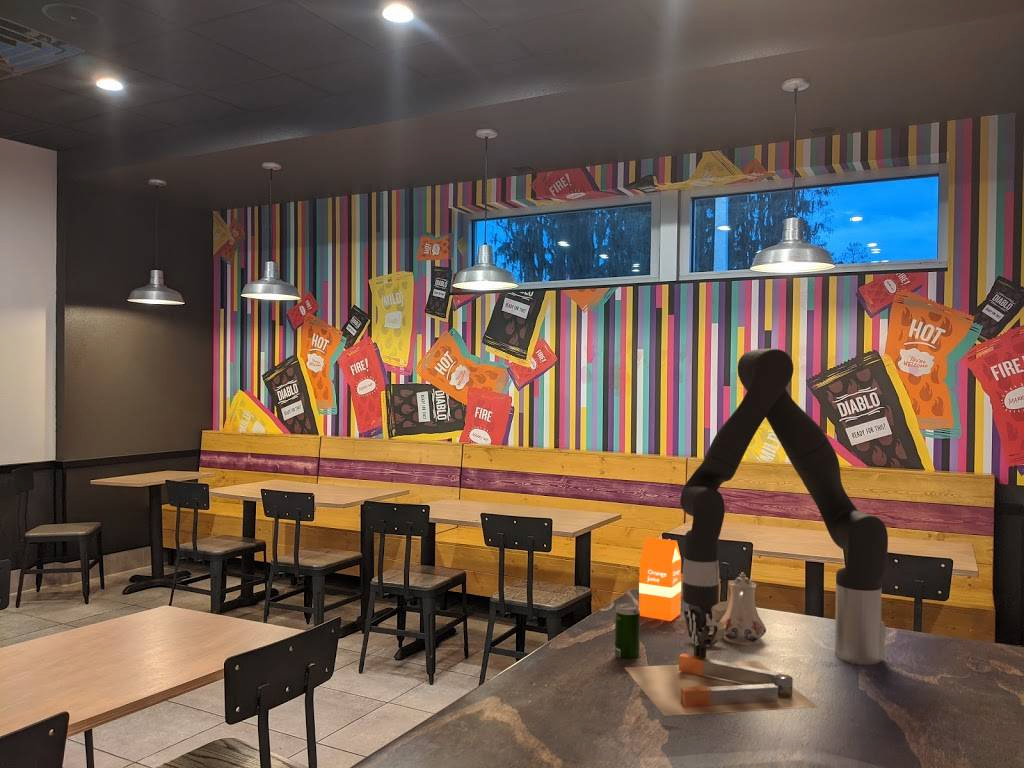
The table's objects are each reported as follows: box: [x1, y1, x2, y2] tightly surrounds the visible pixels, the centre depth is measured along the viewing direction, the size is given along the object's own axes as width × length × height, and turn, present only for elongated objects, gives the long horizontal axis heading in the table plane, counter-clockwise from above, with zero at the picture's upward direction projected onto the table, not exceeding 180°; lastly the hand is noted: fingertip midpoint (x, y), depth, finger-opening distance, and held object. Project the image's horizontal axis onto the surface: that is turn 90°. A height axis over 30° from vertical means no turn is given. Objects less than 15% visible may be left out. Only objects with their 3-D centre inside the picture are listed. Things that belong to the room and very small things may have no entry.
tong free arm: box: [678, 653, 794, 697], centre depth 158 cm, size 23×4×3 cm, turn 59°
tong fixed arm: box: [681, 684, 778, 708], centre depth 149 cm, size 18×2×3 cm, turn 99°
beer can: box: [614, 603, 641, 660], centre depth 175 cm, size 5×5×12 cm
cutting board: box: [623, 660, 819, 717], centre depth 158 cm, size 30×24×2 cm
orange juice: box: [638, 536, 682, 622], centre depth 209 cm, size 8×9×20 cm
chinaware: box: [706, 571, 767, 648], centre depth 192 cm, size 28×17×17 cm, turn 161°
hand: (699, 661), depth 168 cm, fingers closed
